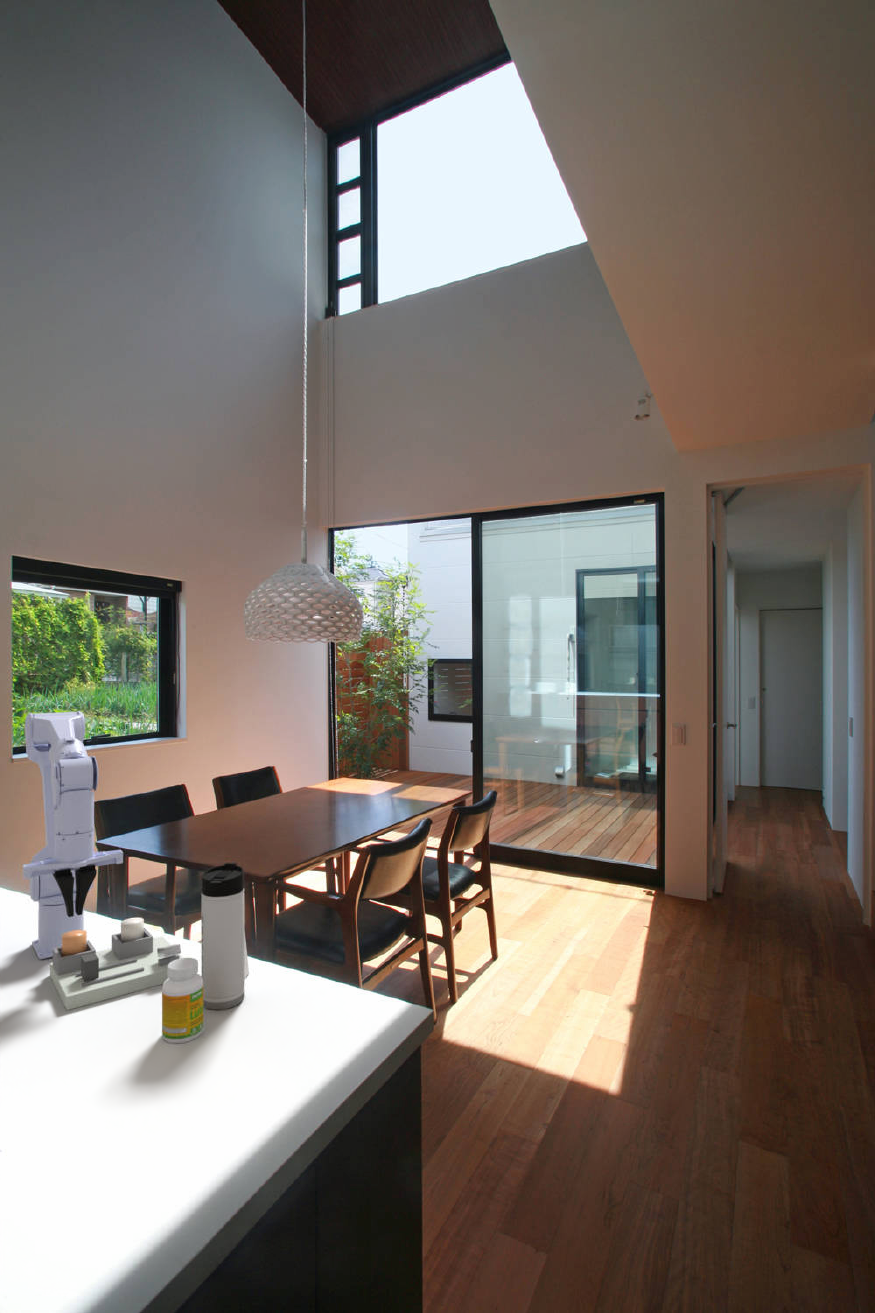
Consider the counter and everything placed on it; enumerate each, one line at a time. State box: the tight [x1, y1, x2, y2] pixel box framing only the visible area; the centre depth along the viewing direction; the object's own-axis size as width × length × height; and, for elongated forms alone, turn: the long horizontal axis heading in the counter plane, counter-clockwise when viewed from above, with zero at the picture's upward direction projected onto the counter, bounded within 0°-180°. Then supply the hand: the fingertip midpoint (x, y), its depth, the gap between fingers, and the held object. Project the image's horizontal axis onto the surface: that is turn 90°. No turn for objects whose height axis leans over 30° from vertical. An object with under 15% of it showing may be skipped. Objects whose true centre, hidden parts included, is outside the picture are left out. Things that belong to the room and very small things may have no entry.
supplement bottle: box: [161, 957, 204, 1044], centre depth 94 cm, size 5×5×10 cm
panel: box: [49, 927, 184, 1011], centre depth 113 cm, size 15×18×5 cm
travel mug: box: [200, 862, 245, 1011], centre depth 104 cm, size 6×7×20 cm
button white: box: [120, 917, 145, 943], centre depth 118 cm, size 4×4×3 cm
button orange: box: [62, 929, 88, 957], centre depth 112 cm, size 4×4×3 cm
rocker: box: [157, 943, 182, 957], centre depth 113 cm, size 4×3×1 cm, turn 38°
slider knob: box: [81, 953, 99, 981], centre depth 107 cm, size 3×2×3 cm
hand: (74, 914), depth 112 cm, fingers closed
